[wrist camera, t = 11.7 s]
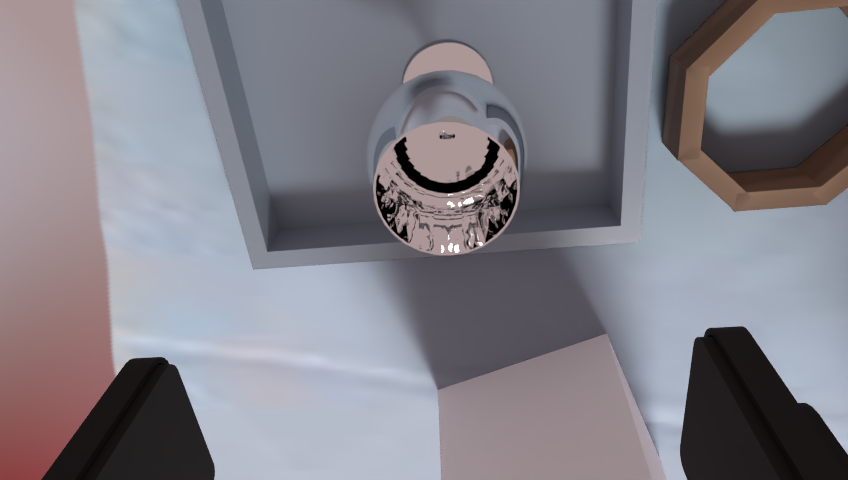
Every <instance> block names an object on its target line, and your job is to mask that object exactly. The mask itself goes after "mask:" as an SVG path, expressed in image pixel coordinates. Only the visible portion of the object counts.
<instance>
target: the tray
mask: <svg viewBox="0 0 848 480" xmlns="http://www.w3.org/2000/svg"><path fill="white" fill-rule="evenodd" d="M177 3H178V7H179V10H180V14H181V18H182V21H183V25H184V28H185V32H186V35H187V39H188V42H189V46H190V49H191V53H192V56H193V60H194V63H195V67H196V70H197V74H198V77H199V81H200V84H201V88H202V91H203V95H204V98H205V102H206V105H207V109H208V113H209V116H210V120H211V123H212V127H213V130H214V134H215V137H216V141H217V144H218V148H219V151H220V155H221V158H222V162H223V165H224V169H225V172H226V176H227V179H228V183H229V186H230V190H231V193H232V197H233V200H234V204H235V208H236V211H237V215H238V218H239V222H240V225H241V229H242V232H243V236H244V239H245V243H246V246H247V250H248V253H249V257H250V260H251V264H252V267H253V270H254V269H268V268H282V267H296V266H310V265H324V264H338V263H352V262H366V261H381V260H395V259H409V258H423V257H437V256H451V255H434V254H430V253H426V252H422V251H419V250H417V249H414V248H412V247H410V246H408V245H406V244H404V243H403V242H402V241H401V240H399V239H398V238H397V237H395V236H394V235H393V234H392V233H391V232H390V230H389V229H388V228H387V227H386V226H385V225H384V223H383V221H382V219H381V217H380V216H379V214H378V211H377V208H376V205H375V202H374V199H373V197H372V193H371V190H370V186H369V182H368V174H367V164H366V150H367V143H368V137H369V133H370V129H371V126H372V123H373V121H374V118H375V116H376V114H377V112H378V111H379V109H380V107H381V106H382V105H383V103H384V102H385V101H386V100H387V98H388V97H389V96H390V95H391V94H392V93H393V92H394V91H395V90H397V89H398V88H399V87H400V86H401V85H402V83H403V76H404V74H405V71H406V68H407V66H408V65H409V63H410V62H411V60H412V59H413V57H414V56H415V55H416V54H417V53H418V52H420V51H421V50H422V49H424V48H426V47H428V46H430V45H433V44H435V43H440V42H456V43H461V44H464V45H466V46H469V47H471V48H472V49H474V50H475V51H476V52H478V53H479V54H480V55H481V56H482V57H483V58H484V60H485V61H486V62H487V64H488V66H489V68H490V70H491V73H492V77H493V84H494V86H495V87H496V88H498V89H499V90H500V91H501V92H502V93H503V94H504V95H505V96H506V97H507V98H508V100H509V101H510V102H511V103H512V105H513V106H514V108H515V109H516V111H517V113H518V115H519V117H520V119H521V122H522V124H523V127H524V131H525V135H526V140H527V150H528V165H527V175H526V180H525V184H524V189H523V192H522V194H521V197H520V200H519V203H518V206H517V209H516V211H515V214H514V216H513V218H512V220H511V221H510V223H509V224H508V226H507V227H506V228H505V230H504V231H503V232H502V233H501V234H500V235H499V236H498V237H497V238H495V239H494V240H492V241H491V242H489V243H488V244H486V245H485V246H483V247H481V248H479V249H476V250H474V251H471V252H468V253H463V254H458V255H465V254H479V253H493V252H507V251H521V250H535V249H549V248H563V247H577V246H591V245H606V244H620V243H634V242H640V239H641V225H642V211H643V197H644V182H645V168H646V154H647V140H648V125H649V111H650V97H651V83H652V68H653V54H654V40H655V26H656V11H657V0H177Z"/></svg>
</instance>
